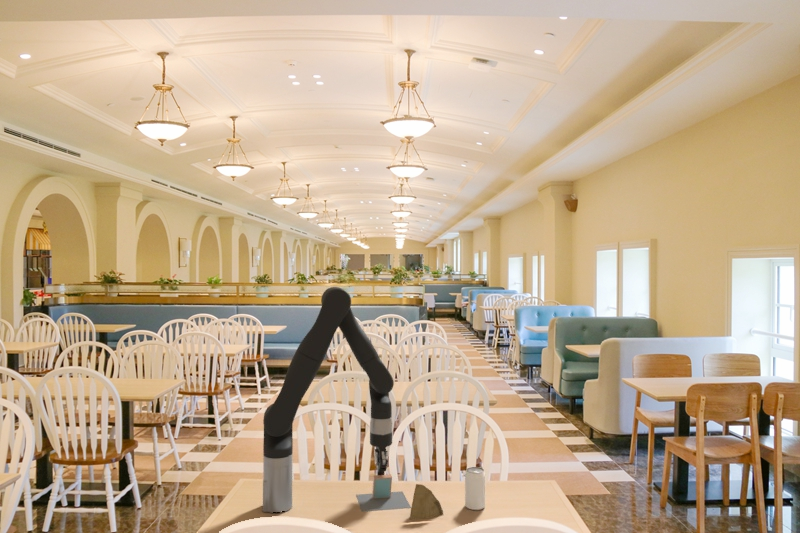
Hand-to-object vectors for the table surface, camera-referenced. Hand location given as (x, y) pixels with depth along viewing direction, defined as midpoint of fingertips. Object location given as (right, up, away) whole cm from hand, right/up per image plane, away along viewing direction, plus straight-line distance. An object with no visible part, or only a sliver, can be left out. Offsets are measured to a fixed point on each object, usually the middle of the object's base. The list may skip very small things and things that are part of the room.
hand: (380, 481), depth 198 cm
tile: (0, -5, -1) cm, 5 cm away
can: (+31, -6, -7) cm, 32 cm away
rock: (+15, -6, -15) cm, 22 cm away
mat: (+1, -6, -4) cm, 7 cm away
